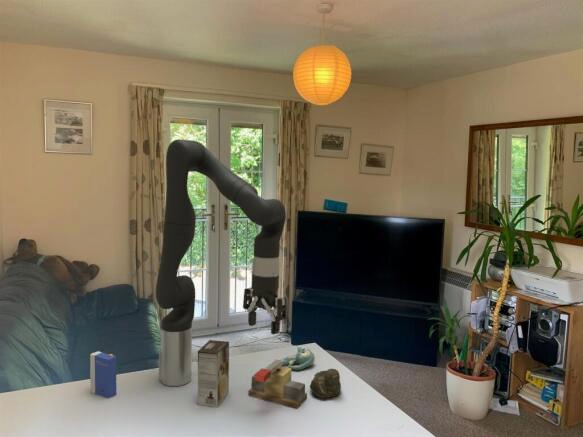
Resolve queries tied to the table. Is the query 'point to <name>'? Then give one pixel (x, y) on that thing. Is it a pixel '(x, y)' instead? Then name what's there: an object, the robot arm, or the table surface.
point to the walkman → (103, 374)
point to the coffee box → (213, 373)
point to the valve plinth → (279, 389)
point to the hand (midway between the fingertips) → (263, 329)
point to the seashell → (326, 383)
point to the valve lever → (268, 371)
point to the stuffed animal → (300, 359)
